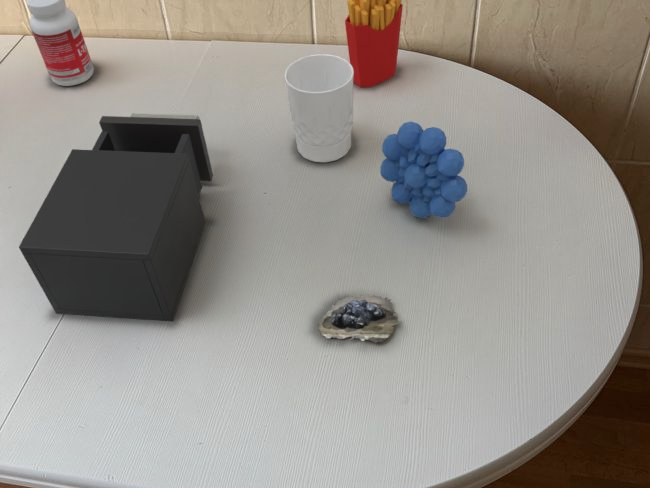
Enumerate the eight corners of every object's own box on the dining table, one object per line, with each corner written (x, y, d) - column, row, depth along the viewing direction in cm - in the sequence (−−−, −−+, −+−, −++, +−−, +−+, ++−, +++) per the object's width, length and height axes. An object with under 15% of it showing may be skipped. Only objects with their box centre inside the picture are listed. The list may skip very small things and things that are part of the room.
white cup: (360, 129, 89) (358, 55, 81) (350, 168, 85) (347, 94, 77) (299, 125, 90) (292, 52, 83) (286, 163, 86) (277, 90, 78)
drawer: (132, 149, 88) (113, 94, 81) (221, 153, 86) (209, 96, 80) (85, 250, 77) (59, 195, 71) (185, 256, 76) (168, 200, 70)
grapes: (484, 220, 78) (499, 128, 69) (444, 251, 76) (454, 160, 66) (407, 173, 84) (411, 82, 74) (367, 201, 81) (366, 110, 71)
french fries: (360, 93, 94) (358, 4, 85) (342, 80, 96) (338, -8, 87) (408, 69, 97) (411, -20, 87) (389, 57, 99) (391, -31, 89)
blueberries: (405, 341, 69) (405, 329, 67) (324, 357, 68) (323, 345, 66) (387, 291, 73) (387, 278, 71) (311, 306, 72) (309, 293, 70)
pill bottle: (96, 82, 99) (69, 4, 90) (52, 91, 98) (20, 13, 89) (93, 60, 102) (66, -18, 94) (50, 68, 102) (20, -10, 93)
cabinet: (100, 217, 82) (72, 148, 74) (206, 222, 80) (188, 153, 73) (55, 313, 73) (18, 247, 65) (173, 321, 72) (148, 254, 64)
